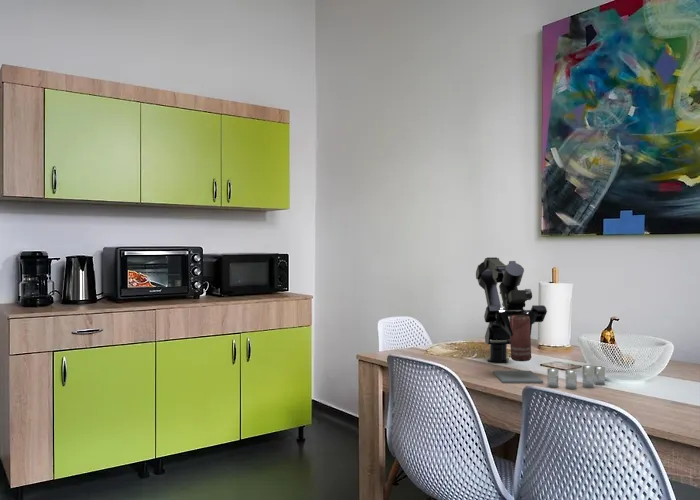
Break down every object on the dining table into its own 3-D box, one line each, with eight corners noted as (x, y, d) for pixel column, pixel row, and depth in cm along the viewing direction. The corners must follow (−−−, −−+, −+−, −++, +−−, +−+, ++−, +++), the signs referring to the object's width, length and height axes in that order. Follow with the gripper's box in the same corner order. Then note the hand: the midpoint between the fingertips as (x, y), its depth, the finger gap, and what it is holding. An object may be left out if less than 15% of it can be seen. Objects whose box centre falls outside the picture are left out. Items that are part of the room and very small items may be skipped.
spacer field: (545, 385, 169) (545, 365, 169) (598, 378, 177) (598, 359, 177) (564, 391, 162) (564, 370, 162) (618, 384, 170) (618, 363, 170)
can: (506, 359, 180) (504, 315, 179) (518, 356, 184) (516, 312, 183) (523, 362, 175) (522, 317, 175) (535, 358, 179) (533, 314, 179)
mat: (493, 372, 186) (493, 370, 186) (530, 372, 186) (530, 370, 186) (502, 383, 172) (502, 381, 172) (543, 383, 172) (543, 381, 172)
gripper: (486, 280, 183) (495, 320, 172) (544, 280, 183) (557, 319, 172) (480, 302, 191) (488, 341, 180) (536, 302, 191) (548, 341, 180)
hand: (520, 335), depth 178 cm, fingers closed on can, 5 cm apart
